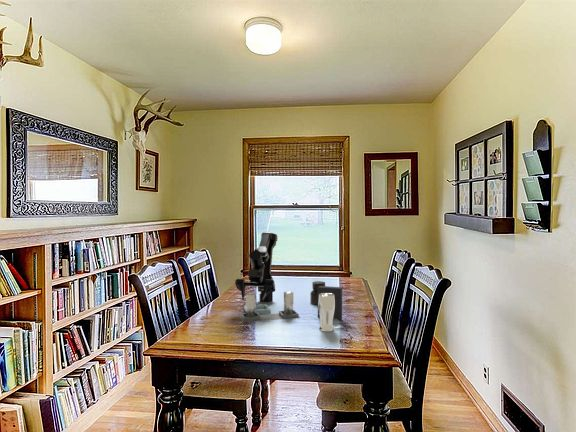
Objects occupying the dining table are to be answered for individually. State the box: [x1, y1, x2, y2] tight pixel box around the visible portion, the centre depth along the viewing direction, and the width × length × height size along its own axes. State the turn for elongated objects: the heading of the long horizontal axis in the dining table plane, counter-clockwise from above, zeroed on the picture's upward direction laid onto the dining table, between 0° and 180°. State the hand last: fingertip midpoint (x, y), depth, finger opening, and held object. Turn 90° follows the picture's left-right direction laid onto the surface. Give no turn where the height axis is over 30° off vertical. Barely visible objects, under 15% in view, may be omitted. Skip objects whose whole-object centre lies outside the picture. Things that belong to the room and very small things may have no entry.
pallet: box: [239, 309, 301, 323], centre depth 190 cm, size 27×10×2 cm, turn 104°
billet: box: [283, 290, 294, 315], centre depth 193 cm, size 4×4×11 cm
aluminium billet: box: [245, 292, 257, 317], centre depth 188 cm, size 4×4×11 cm
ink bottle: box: [309, 280, 326, 306], centre depth 218 cm, size 10×9×12 cm
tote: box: [243, 303, 272, 315], centre depth 201 cm, size 11×11×3 cm
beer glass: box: [317, 293, 335, 333], centre depth 174 cm, size 7×7×15 cm
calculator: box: [317, 285, 343, 322], centre depth 190 cm, size 11×4×15 cm, turn 71°
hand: (252, 299), depth 191 cm, fingers open, 9 cm apart
